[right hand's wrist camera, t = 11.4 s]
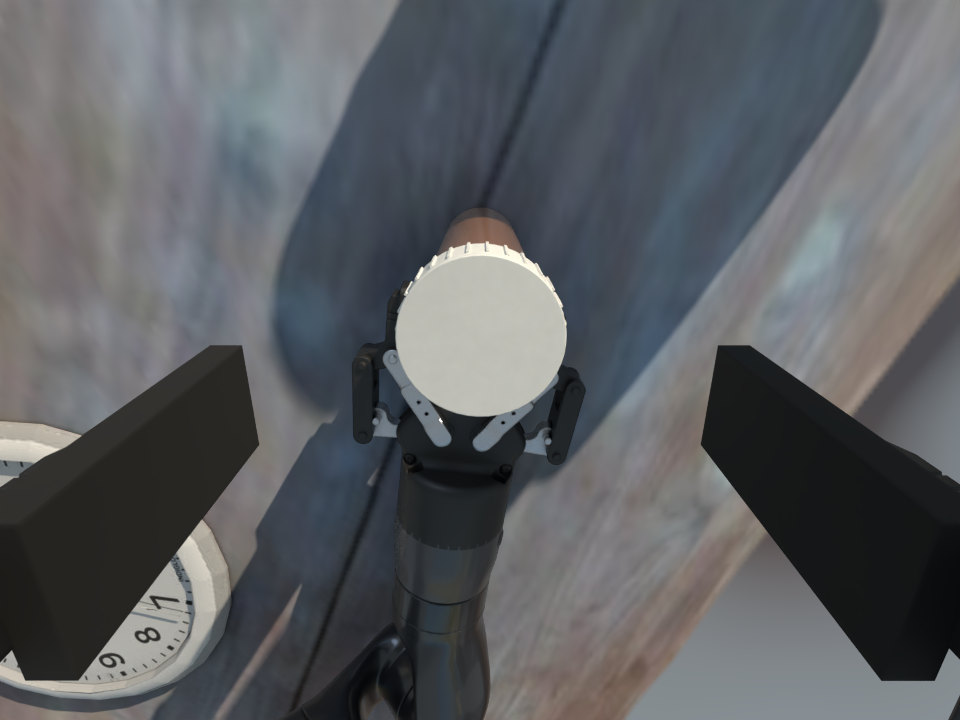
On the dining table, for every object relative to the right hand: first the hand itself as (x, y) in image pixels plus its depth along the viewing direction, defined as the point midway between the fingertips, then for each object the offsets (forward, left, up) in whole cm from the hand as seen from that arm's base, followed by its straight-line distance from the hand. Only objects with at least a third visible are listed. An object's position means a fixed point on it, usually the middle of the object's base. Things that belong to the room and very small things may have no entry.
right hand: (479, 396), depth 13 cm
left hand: (0, +2, -19) cm, 19 cm away
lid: (0, 0, -5) cm, 5 cm away
